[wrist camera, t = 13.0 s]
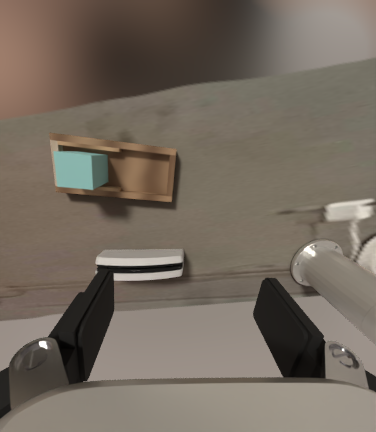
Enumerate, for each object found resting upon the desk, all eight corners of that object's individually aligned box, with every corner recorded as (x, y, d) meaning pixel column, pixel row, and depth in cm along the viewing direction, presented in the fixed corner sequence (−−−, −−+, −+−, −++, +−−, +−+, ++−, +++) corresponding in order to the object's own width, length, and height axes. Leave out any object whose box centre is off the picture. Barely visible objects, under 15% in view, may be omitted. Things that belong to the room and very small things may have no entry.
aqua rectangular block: (107, 154, 30) (91, 155, 23) (108, 181, 31) (93, 189, 25) (78, 151, 29) (53, 151, 23) (80, 179, 31) (57, 186, 24)
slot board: (175, 149, 32) (176, 149, 30) (171, 198, 35) (171, 202, 32) (58, 134, 29) (49, 132, 27) (63, 189, 32) (56, 192, 30)
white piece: (105, 270, 38) (84, 289, 28) (105, 248, 38) (84, 259, 28) (183, 268, 40) (189, 285, 30) (183, 247, 40) (189, 257, 30)
